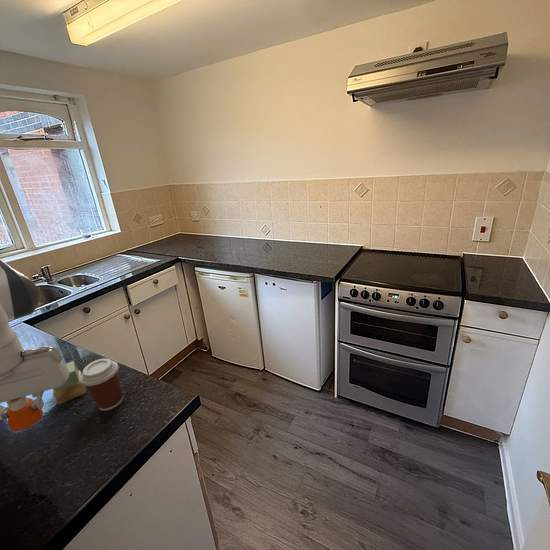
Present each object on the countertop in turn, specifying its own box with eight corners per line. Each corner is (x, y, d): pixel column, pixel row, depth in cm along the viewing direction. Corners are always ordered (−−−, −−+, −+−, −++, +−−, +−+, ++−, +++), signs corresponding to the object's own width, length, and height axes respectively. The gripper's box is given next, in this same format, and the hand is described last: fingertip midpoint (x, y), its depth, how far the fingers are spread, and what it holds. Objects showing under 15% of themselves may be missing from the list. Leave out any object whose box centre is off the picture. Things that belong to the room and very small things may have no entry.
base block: (58, 404, 84) (52, 393, 83) (58, 391, 89) (53, 380, 88) (86, 392, 88) (81, 382, 86) (84, 380, 93) (80, 370, 92)
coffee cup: (121, 411, 79) (107, 375, 75) (86, 416, 79) (70, 380, 74) (133, 387, 87) (121, 353, 83) (102, 392, 87) (88, 358, 83)
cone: (5, 435, 60) (-11, 408, 58) (17, 415, 65) (3, 389, 63) (37, 425, 62) (23, 398, 59) (47, 406, 67) (34, 380, 64)
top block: (54, 392, 83) (49, 380, 82) (55, 380, 88) (49, 369, 86) (79, 381, 86) (74, 370, 85) (78, 371, 91) (73, 360, 89)
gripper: (60, 336, 64) (82, 387, 68) (-60, 364, 58) (-27, 417, 63) (50, 352, 58) (74, 406, 63) (-84, 384, 52) (-46, 442, 57)
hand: (23, 412), depth 63 cm, fingers closed on cone, 4 cm apart
